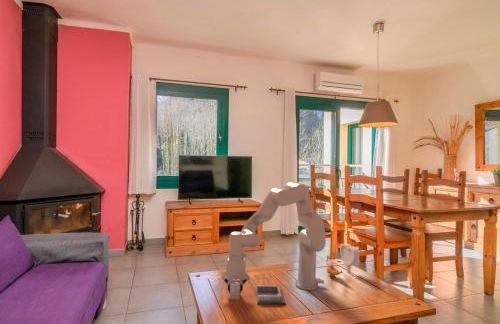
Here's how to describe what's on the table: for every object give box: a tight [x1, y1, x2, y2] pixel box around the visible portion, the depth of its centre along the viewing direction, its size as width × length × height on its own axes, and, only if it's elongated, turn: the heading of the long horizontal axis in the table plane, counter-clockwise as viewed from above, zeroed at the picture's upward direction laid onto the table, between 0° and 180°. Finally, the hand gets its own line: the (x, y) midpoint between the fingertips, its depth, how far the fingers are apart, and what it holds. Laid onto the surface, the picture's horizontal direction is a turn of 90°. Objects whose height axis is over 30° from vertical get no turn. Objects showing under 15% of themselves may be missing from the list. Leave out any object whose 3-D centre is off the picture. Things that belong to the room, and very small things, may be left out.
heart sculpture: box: [339, 243, 360, 277], centre depth 182 cm, size 16×5×18 cm, turn 14°
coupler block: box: [229, 280, 241, 300], centre depth 149 cm, size 5×7×8 cm
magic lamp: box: [326, 255, 344, 279], centre depth 175 cm, size 7×18×11 cm, turn 15°
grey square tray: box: [255, 284, 287, 306], centre depth 148 cm, size 14×14×4 cm
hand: (235, 291), depth 149 cm, fingers closed on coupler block, 5 cm apart
